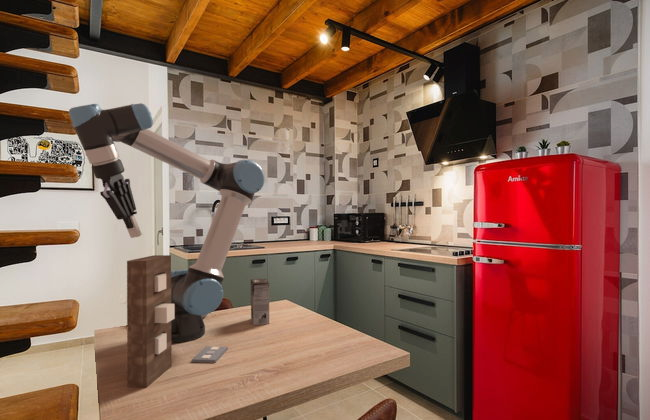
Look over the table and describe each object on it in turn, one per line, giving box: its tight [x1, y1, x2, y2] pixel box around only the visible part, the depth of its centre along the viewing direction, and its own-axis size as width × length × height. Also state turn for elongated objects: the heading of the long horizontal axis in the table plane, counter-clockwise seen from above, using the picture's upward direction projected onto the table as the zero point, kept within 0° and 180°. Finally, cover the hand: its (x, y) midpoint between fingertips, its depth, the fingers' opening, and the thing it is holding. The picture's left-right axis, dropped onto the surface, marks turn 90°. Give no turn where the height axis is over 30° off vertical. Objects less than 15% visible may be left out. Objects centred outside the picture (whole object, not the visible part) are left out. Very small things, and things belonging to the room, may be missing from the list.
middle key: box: [154, 304, 175, 323], centre depth 93 cm, size 4×4×4 cm
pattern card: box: [191, 345, 228, 363], centre depth 106 cm, size 7×10×1 cm
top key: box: [154, 274, 166, 292], centre depth 93 cm, size 4×4×4 cm
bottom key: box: [155, 333, 167, 354], centre depth 93 cm, size 4×4×4 cm
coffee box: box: [250, 278, 270, 326], centre depth 140 cm, size 9×6×16 cm
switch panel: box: [126, 254, 172, 388], centre depth 93 cm, size 5×12×31 cm, turn 176°
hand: (136, 236), depth 108 cm, fingers closed
